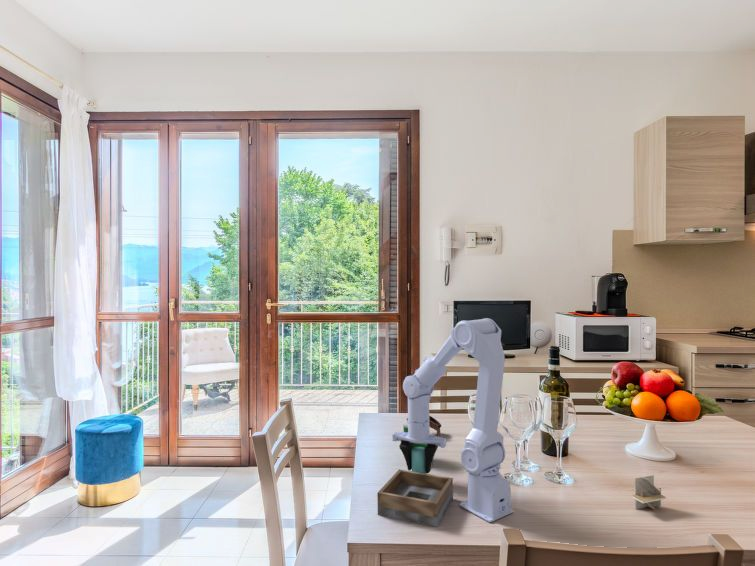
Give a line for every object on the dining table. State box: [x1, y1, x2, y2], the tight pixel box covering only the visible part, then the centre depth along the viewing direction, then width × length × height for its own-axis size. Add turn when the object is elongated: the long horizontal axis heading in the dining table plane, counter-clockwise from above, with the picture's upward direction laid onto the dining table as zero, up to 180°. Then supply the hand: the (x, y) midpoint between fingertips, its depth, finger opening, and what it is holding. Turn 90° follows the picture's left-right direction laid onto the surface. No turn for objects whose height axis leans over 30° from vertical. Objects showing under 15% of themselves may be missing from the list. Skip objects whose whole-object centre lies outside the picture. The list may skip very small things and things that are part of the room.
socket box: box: [376, 469, 454, 528], centre depth 110 cm, size 14×14×5 cm
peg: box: [411, 447, 428, 474], centre depth 125 cm, size 4×4×8 cm
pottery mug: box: [429, 415, 442, 437], centre depth 158 cm, size 12×10×8 cm
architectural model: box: [631, 474, 667, 511], centre depth 107 cm, size 3×7×7 cm, turn 107°
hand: (419, 470), depth 125 cm, fingers open, 4 cm apart
